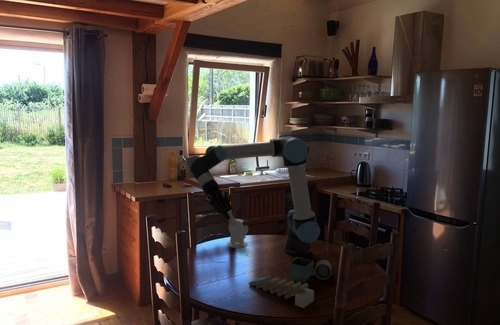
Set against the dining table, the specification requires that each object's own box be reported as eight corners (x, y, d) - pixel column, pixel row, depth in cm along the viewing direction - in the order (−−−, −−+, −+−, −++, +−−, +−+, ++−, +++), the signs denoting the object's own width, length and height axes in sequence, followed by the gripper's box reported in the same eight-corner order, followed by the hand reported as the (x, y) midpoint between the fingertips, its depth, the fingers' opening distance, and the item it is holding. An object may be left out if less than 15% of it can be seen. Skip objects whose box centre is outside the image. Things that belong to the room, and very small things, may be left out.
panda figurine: (252, 243, 238) (252, 218, 236) (241, 249, 228) (241, 223, 226) (234, 240, 244) (234, 215, 242) (223, 245, 234) (224, 220, 232)
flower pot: (305, 286, 182) (306, 267, 181) (288, 281, 187) (288, 262, 185) (313, 279, 189) (314, 260, 188) (296, 275, 194) (296, 257, 193)
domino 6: (283, 296, 170) (300, 286, 164) (290, 292, 174) (306, 282, 168) (285, 299, 169) (302, 290, 164) (292, 295, 173) (308, 286, 167)
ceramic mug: (331, 273, 196) (331, 258, 195) (330, 280, 188) (331, 264, 187) (309, 271, 199) (309, 256, 198) (307, 278, 191) (308, 262, 190)
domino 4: (269, 290, 174) (286, 284, 168) (276, 286, 178) (293, 280, 172) (271, 294, 174) (288, 288, 168) (278, 290, 178) (294, 284, 172)
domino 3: (262, 288, 177) (279, 282, 171) (269, 284, 180) (286, 279, 174) (263, 291, 176) (280, 286, 170) (270, 287, 180) (287, 282, 174)
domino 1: (248, 282, 181) (264, 278, 175) (255, 279, 185) (271, 275, 179) (249, 286, 181) (266, 282, 175) (256, 282, 185) (272, 278, 179)
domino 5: (276, 293, 172) (293, 285, 166) (283, 289, 176) (300, 281, 170) (278, 296, 171) (295, 289, 166) (285, 292, 175) (301, 285, 169)
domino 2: (255, 285, 179) (272, 281, 173) (262, 281, 183) (278, 277, 177) (256, 288, 179) (273, 284, 173) (263, 285, 183) (280, 280, 177)
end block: (294, 304, 165) (295, 294, 164) (305, 298, 171) (305, 287, 170) (303, 308, 162) (303, 297, 162) (313, 300, 168) (314, 290, 168)
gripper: (213, 186, 202) (239, 225, 194) (194, 190, 192) (220, 232, 184) (221, 177, 198) (248, 216, 190) (202, 180, 188) (229, 222, 180)
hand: (234, 224), depth 187 cm, fingers closed
